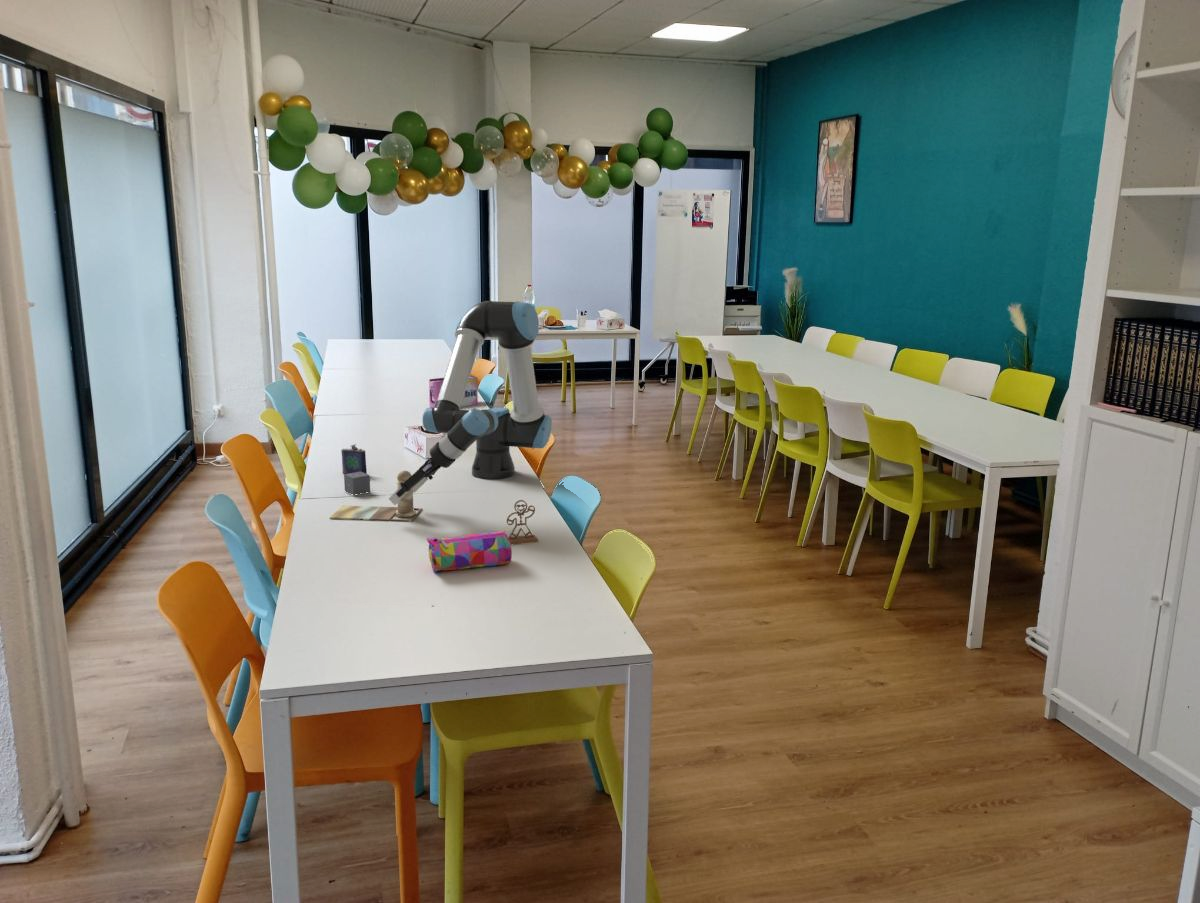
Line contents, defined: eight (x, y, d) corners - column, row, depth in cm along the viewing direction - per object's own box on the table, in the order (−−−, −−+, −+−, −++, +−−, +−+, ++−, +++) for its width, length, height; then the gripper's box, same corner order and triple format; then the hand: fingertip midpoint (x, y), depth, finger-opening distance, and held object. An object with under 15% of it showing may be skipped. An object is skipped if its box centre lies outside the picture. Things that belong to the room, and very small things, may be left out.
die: (370, 492, 304) (369, 475, 302) (353, 496, 300) (352, 478, 298) (361, 488, 308) (360, 471, 307) (344, 492, 304) (343, 474, 303)
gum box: (434, 410, 437) (433, 381, 434) (426, 407, 443) (425, 379, 440) (478, 404, 452) (477, 377, 449) (469, 402, 458) (469, 374, 455)
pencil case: (430, 578, 232) (429, 544, 230) (424, 565, 241) (423, 532, 239) (515, 568, 239) (514, 535, 237) (506, 556, 248) (505, 524, 246)
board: (422, 509, 287) (422, 507, 287) (412, 521, 275) (412, 520, 275) (343, 507, 288) (343, 505, 288) (329, 519, 276) (329, 517, 276)
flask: (341, 474, 325) (339, 444, 323) (345, 472, 328) (344, 442, 326) (364, 476, 323) (363, 446, 320) (368, 474, 326) (367, 444, 323)
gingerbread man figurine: (507, 545, 256) (506, 503, 253) (503, 540, 260) (503, 499, 257) (538, 542, 259) (538, 501, 256) (534, 537, 263) (534, 497, 260)
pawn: (416, 512, 284) (415, 468, 282) (414, 517, 278) (413, 472, 276) (396, 512, 284) (395, 468, 281) (394, 517, 278) (393, 473, 275)
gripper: (454, 432, 285) (411, 475, 291) (421, 450, 261) (374, 497, 268) (471, 450, 285) (427, 493, 292) (439, 470, 261) (392, 516, 268)
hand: (401, 495), depth 280 cm, fingers open, 13 cm apart
